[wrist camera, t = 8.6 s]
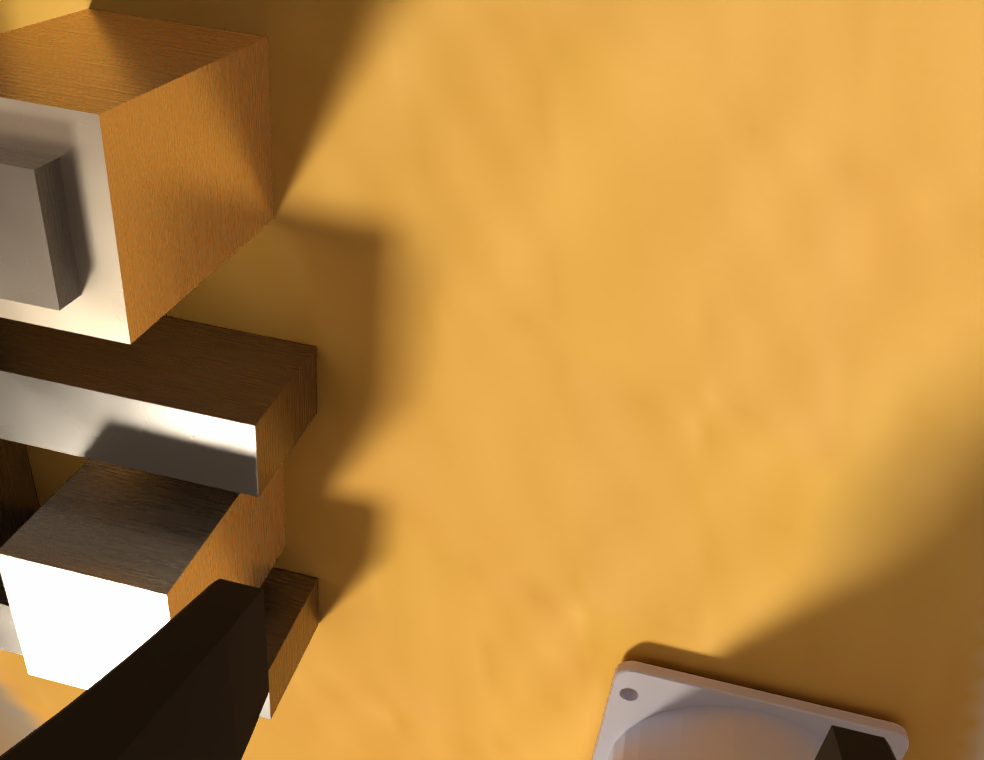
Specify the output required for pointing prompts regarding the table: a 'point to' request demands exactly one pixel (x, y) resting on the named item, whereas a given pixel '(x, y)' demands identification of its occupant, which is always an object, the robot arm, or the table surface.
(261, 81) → the block
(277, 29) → the table surface
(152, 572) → the seated block
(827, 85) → the table surface
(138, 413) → the rail
